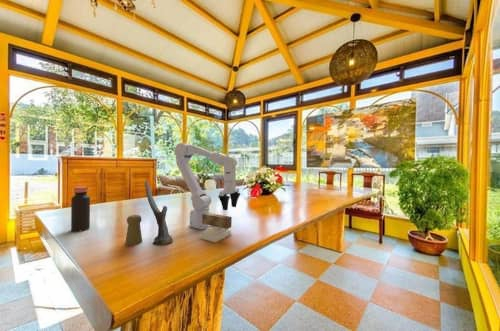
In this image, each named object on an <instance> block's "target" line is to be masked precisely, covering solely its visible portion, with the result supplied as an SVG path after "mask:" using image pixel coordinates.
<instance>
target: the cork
mask: <svg viewBox="0 0 500 331" xmlns="http://www.w3.org/2000/svg"><path fill="white" fill-rule="evenodd" d="M141 223H142V216H141V215H140V214H132V215H129V216H127V218H126V224H128V225H127V232H126V235H125V236H126V237H125V245H126V246H136V245H139V244H142V242H143V238H142V237H143V236H142V230H141V229H142V228H141Z"/></svg>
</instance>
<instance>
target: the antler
mask: <svg viewBox="0 0 500 331" xmlns="http://www.w3.org/2000/svg"><path fill="white" fill-rule="evenodd" d="M149 184H150V183H148V180H147V181H145V182H144V187H145V192H146V197H147V200H148V204H149V207H150V209H151V211H152V213H153V215H154V216H155V221H156V224H157V227H158V229H157V236H156V237H154V239H153V242H152V244H153V245H154V246H155V245H157V246H158V245H159V246H163V245H166V244H169V243H172V241H173V240H174V238H173V237H172V235H170V234H169V228H168V225H167V223H166V222H167V221H166V216H167V211H168V206H166V205H164V206H162V209H161V211H160V209H159V207H158V206H157V204H156V200H154V197H153V194H152V191H151V189H150V185H149Z"/></svg>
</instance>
